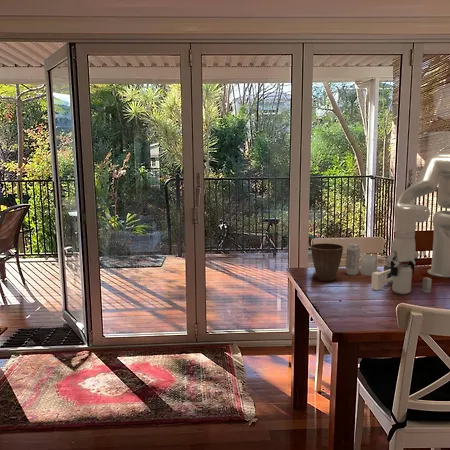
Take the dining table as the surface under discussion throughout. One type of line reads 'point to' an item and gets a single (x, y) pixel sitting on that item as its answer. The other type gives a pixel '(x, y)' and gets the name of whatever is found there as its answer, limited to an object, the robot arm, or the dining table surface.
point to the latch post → (427, 285)
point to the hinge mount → (387, 267)
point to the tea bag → (368, 264)
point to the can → (402, 279)
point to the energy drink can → (352, 259)
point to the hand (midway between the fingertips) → (402, 274)
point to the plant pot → (326, 260)
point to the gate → (380, 279)
